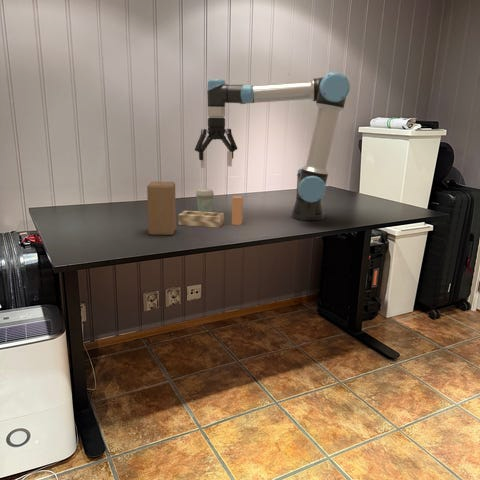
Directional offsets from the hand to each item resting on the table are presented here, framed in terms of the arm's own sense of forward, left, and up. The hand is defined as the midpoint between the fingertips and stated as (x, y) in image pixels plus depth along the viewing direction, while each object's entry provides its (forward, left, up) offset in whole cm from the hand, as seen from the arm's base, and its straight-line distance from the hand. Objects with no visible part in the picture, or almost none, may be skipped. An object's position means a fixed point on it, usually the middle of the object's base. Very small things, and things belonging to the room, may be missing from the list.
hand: (216, 167), depth 207 cm
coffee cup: (+7, -8, -24) cm, 26 cm away
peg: (-11, +5, -24) cm, 27 cm away
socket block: (+4, +10, -24) cm, 26 cm away
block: (+16, +28, -24) cm, 40 cm away
